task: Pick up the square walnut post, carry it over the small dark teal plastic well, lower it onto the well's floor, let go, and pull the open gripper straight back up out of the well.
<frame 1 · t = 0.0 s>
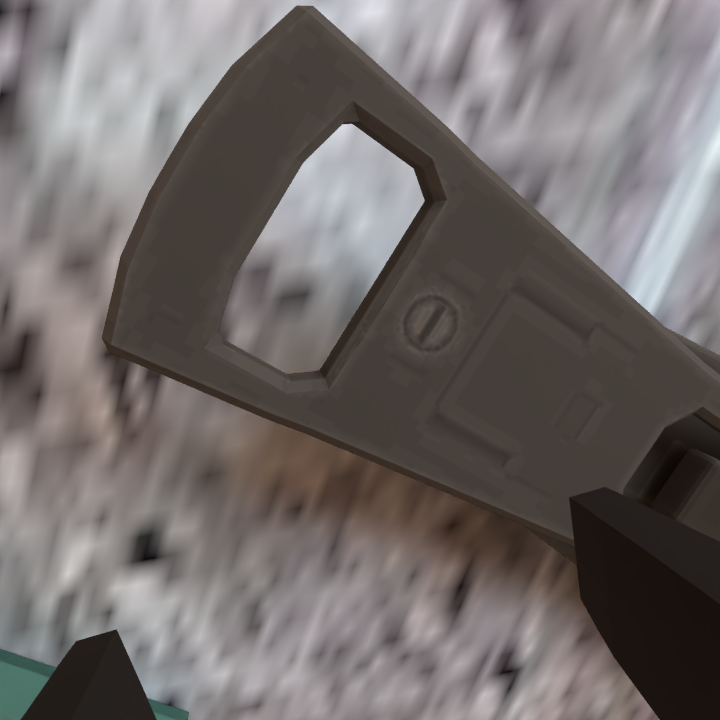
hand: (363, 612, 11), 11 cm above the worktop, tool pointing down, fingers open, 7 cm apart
zipper pull: (543, 397, 22), on the worktop
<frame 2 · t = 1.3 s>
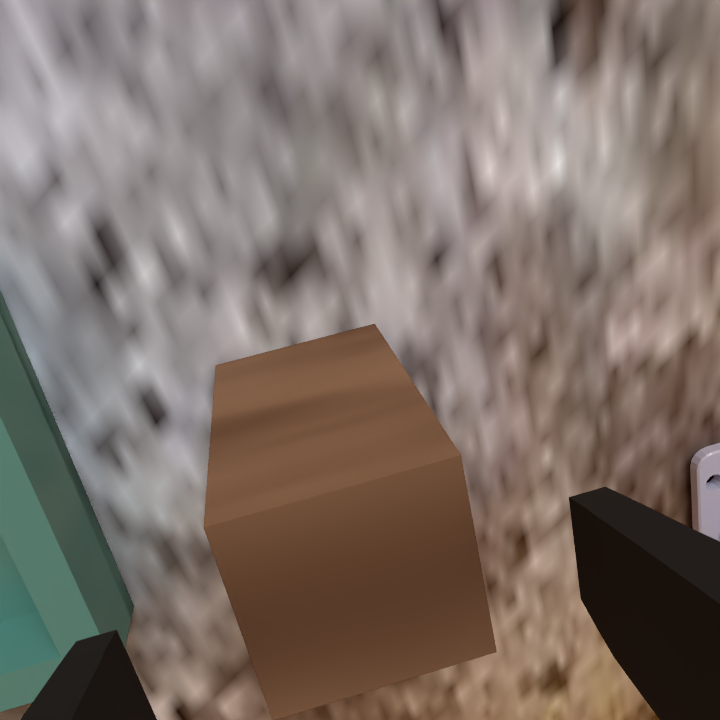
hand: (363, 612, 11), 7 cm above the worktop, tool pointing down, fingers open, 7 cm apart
walnut post: (315, 416, 18), on the worktop
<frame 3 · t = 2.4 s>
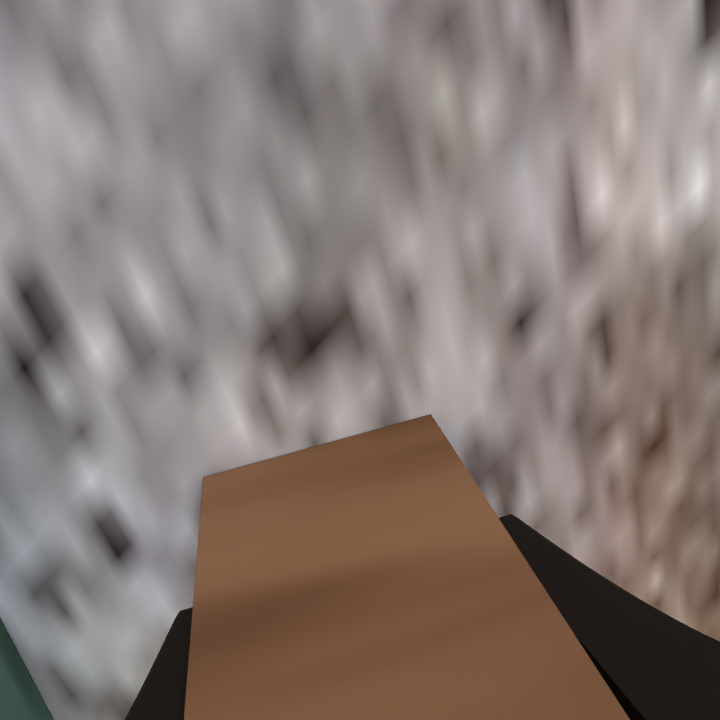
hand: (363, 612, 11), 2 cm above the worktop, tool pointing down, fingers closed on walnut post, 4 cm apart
walnut post: (344, 540, 12), on the worktop, touching gripper
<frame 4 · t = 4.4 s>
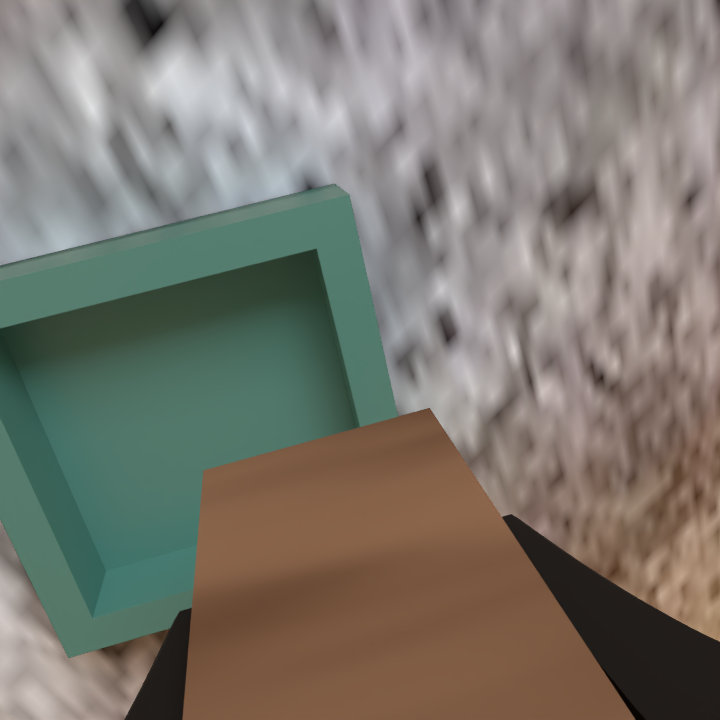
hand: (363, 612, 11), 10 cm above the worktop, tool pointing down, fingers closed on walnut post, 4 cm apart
teal well: (201, 405, 19), on the worktop
walnut post: (343, 533, 13), point 8 cm above the worktop, touching gripper
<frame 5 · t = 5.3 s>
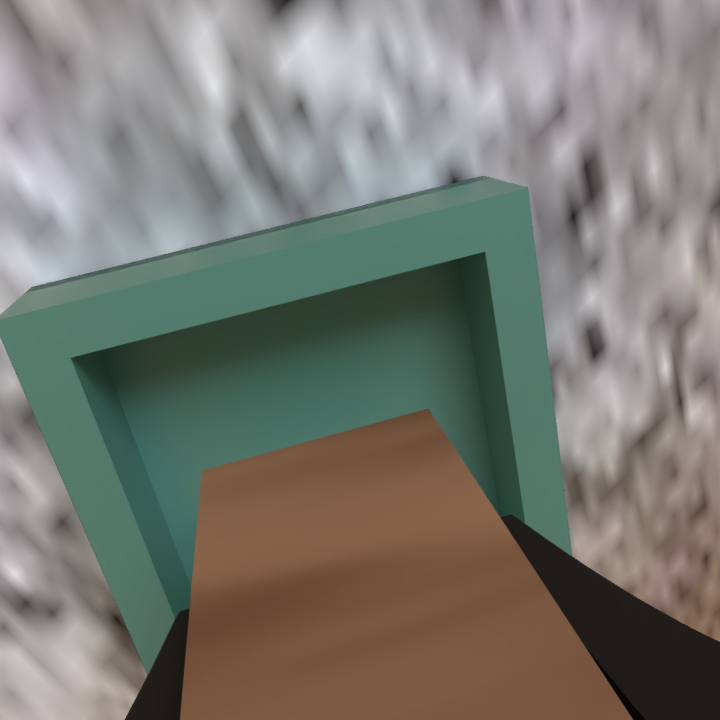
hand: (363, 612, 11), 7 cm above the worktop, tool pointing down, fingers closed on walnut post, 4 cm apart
teal well: (317, 430, 17), on the worktop
walnut post: (342, 534, 12), point 5 cm above the worktop, touching gripper
when the fingers open (3 cm above the worktop, at t = 6.2 s): walnut post stays where it is, resting on teal well.
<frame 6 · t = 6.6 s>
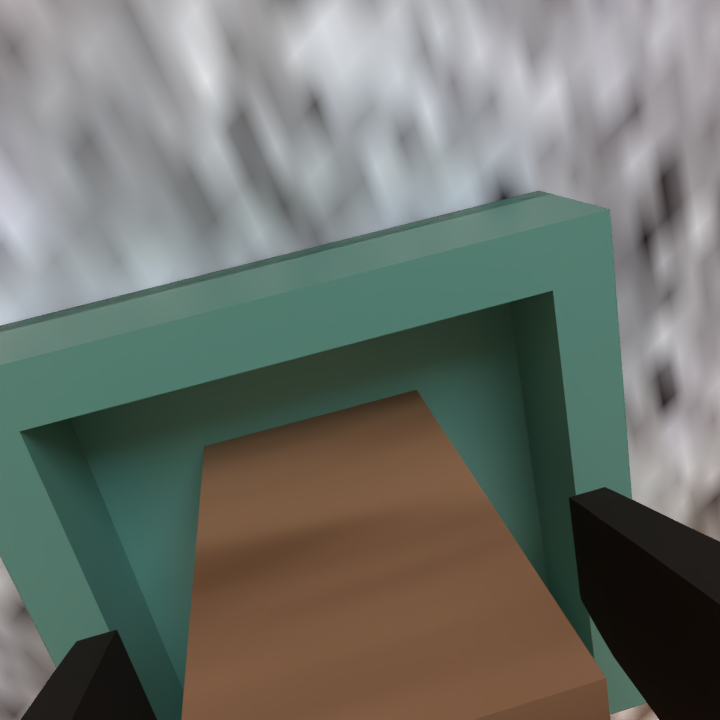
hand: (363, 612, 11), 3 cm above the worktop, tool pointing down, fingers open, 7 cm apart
teal well: (333, 497, 14), on the worktop
walnut post: (335, 508, 13), resting on teal well
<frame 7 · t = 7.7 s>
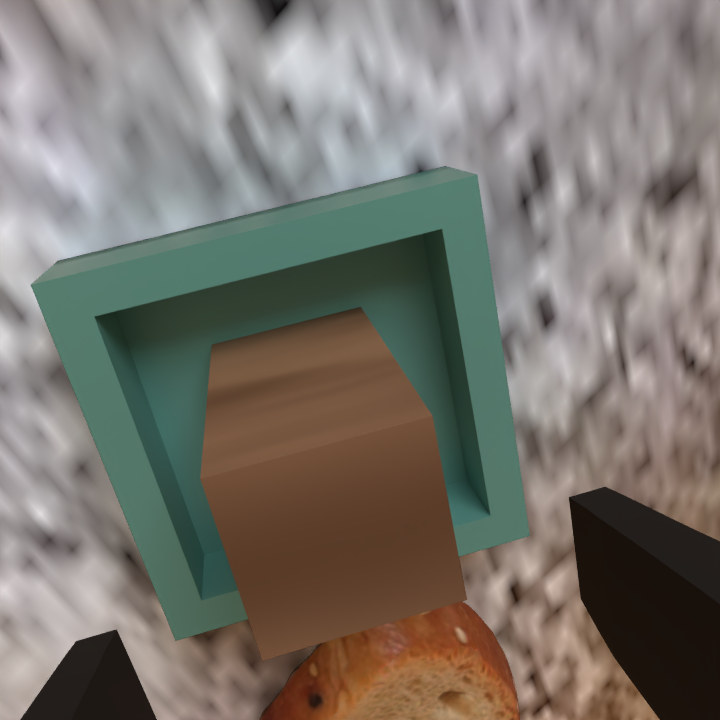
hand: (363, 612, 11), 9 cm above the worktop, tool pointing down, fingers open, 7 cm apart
teal well: (303, 388, 19), on the worktop
walnut post: (304, 393, 19), resting on teal well
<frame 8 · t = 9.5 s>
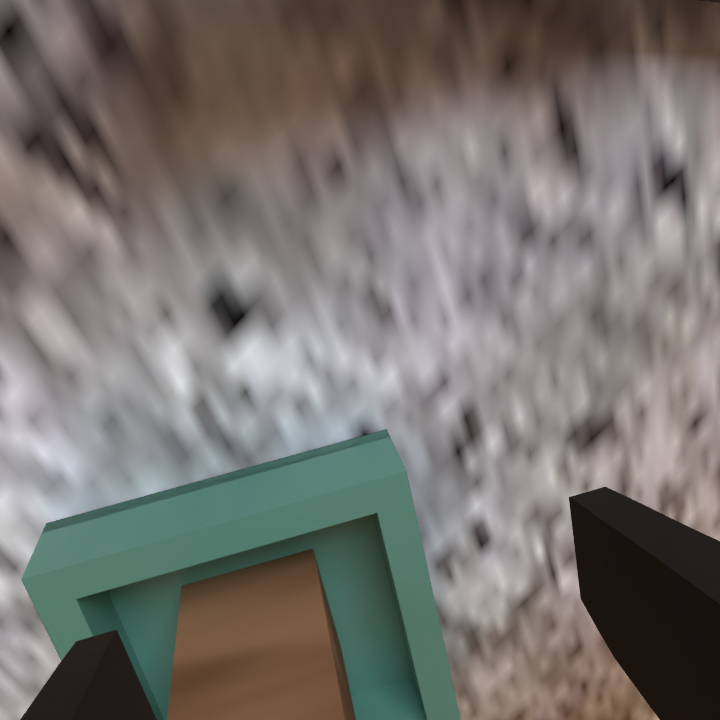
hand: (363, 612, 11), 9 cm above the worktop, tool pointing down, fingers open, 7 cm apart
teal well: (265, 609, 22), on the worktop
walnut post: (264, 618, 21), resting on teal well
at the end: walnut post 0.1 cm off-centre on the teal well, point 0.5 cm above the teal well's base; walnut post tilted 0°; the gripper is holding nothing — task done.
